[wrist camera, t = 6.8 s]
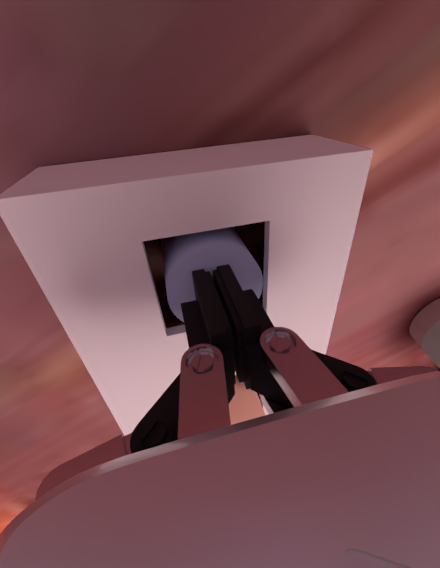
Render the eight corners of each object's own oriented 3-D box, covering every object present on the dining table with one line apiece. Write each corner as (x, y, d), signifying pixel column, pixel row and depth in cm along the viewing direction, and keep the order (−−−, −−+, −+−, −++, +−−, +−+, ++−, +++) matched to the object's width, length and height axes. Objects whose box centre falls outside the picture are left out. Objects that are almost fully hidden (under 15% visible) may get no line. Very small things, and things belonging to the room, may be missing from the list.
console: (38, 167, 13) (-9, 200, 9) (311, 134, 15) (373, 149, 11) (161, 452, 30) (164, 507, 26) (280, 419, 32) (299, 465, 28)
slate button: (153, 213, 15) (157, 258, 11) (232, 201, 15) (264, 239, 11) (168, 280, 17) (176, 336, 13) (235, 267, 18) (262, 318, 14)
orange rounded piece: (184, 360, 19) (196, 430, 15) (245, 346, 20) (271, 410, 16) (192, 396, 22) (204, 464, 18) (246, 382, 22) (268, 446, 18)
